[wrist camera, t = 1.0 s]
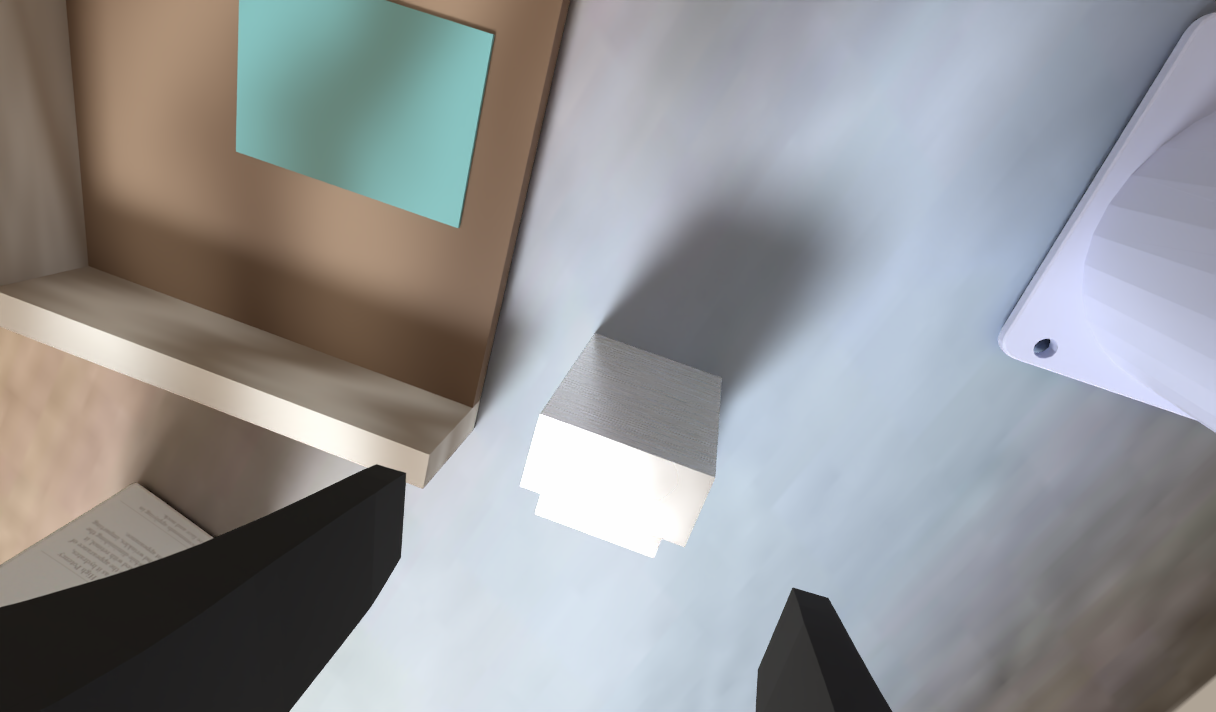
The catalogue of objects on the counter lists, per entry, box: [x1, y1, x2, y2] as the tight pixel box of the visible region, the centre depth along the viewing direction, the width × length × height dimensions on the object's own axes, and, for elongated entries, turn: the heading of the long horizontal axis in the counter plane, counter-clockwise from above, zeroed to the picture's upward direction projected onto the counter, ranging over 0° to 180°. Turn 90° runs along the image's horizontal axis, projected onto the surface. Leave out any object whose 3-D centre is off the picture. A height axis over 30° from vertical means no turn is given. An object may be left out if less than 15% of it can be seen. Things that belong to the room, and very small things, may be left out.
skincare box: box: [0, 483, 213, 607], centre depth 20 cm, size 6×4×12 cm
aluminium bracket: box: [520, 333, 722, 558], centre depth 17 cm, size 4×6×6 cm, turn 164°
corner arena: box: [0, 0, 570, 489], centre depth 16 cm, size 15×15×4 cm
